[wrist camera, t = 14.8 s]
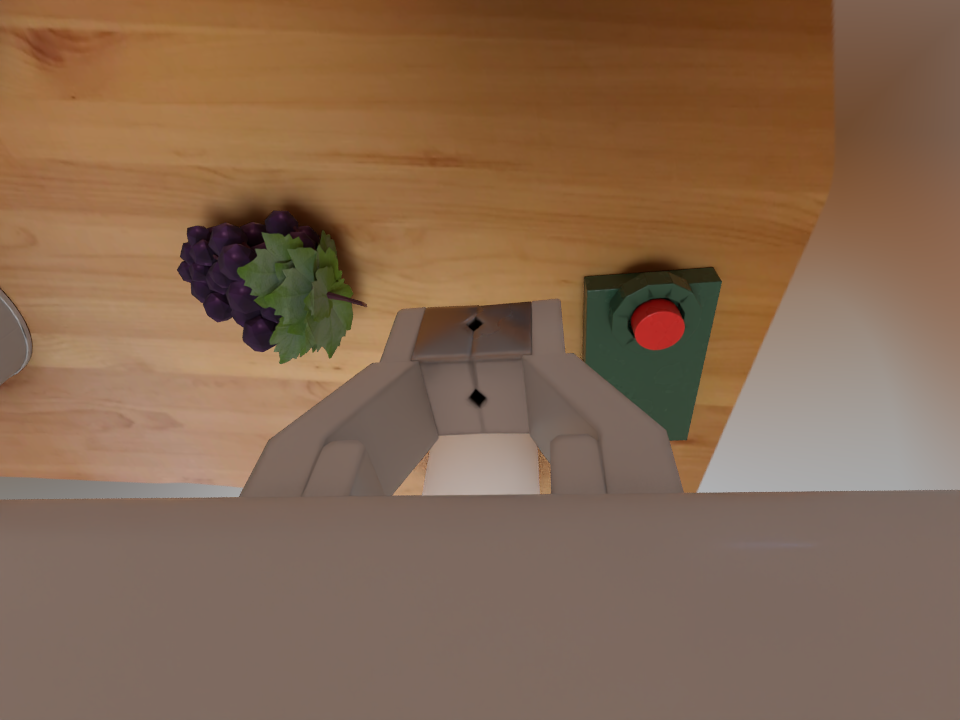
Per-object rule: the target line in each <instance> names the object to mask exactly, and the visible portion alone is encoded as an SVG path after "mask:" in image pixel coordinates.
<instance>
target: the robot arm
mask: <svg viewBox="0 0 960 720" xmlns="http://www.w3.org/2000/svg"><path fill="white" fill-rule="evenodd" d="M466 434H530V437H531V438H532V439H533V441H534V442H535V444H536V445H537V446H538V448H539V449H540V451H541V452H542V453H543V455H544V456H545V457H546V459H547V460H548V462H549V463H550V464H551V494H506V495H412V496H392V495H393V493H394V492H395V491H396V490H397V489H398V487H399V486H400V485H401V484H402V483H403V481H404V480H405V479H406V478H407V476H408V475H409V474H410V473H411V472H412V470H413V469H414V468H415V467H416V466H417V464H418V463H419V462H420V461H421V460H422V458H423V457H424V456H425V455H426V453H427V452H428V451H429V450H430V449H431V447H432V446H433V445H434V444H435V443H436V441H437V440H438V439H439V437H438V436H448V435H466ZM0 720H960V490H922V491H921V490H912V491H820V492H819V491H816V492H815V491H811V492H732V493H730V492H728V493H684V492H683V488H682V484H681V481H680V477H679V474H678V470H677V467H676V463H675V460H674V456H673V452H672V449H671V445H670V442H669V438H668V435H667V431H666V430H665V429H664V428H663V427H662V426H660V425H659V424H658V423H657V422H656V421H654V420H653V419H652V418H651V417H650V416H648V415H647V414H646V413H645V412H644V411H642V410H641V409H640V408H639V407H638V406H636V405H635V404H634V403H633V402H632V401H630V400H629V399H628V398H627V397H626V396H624V395H623V394H622V393H621V392H619V391H618V390H617V389H616V388H615V387H613V386H612V385H611V384H610V383H609V382H607V381H606V380H605V379H604V378H603V377H601V376H600V375H599V374H598V373H597V372H595V371H594V370H593V369H592V368H591V367H589V366H588V365H587V364H586V363H585V362H583V361H582V360H581V359H580V358H578V357H577V356H576V355H575V354H573V353H568V354H565V345H564V334H563V323H562V312H561V301H560V300H559V299H549V300H539V301H532V303H531V302H520V303H508V304H497V305H485V306H479V305H472V306H449V307H428V308H425V307H423V308H409V309H401V310H400V311H398V313H397V315H396V318H395V321H394V324H393V326H392V329H391V332H390V335H389V338H388V340H387V343H386V346H385V349H384V352H383V354H382V357H381V360H380V363H371V364H370V365H369V366H367V367H366V368H365V369H363V370H362V371H361V372H359V373H358V374H357V375H355V376H354V377H353V378H351V379H350V380H349V381H347V382H346V383H345V384H343V385H342V386H341V387H339V388H338V389H337V390H335V391H334V392H333V393H331V394H330V395H328V396H327V397H326V398H324V399H323V400H322V401H320V402H319V403H318V404H316V405H315V406H314V407H312V408H311V409H310V410H308V411H307V412H306V413H304V414H303V415H302V416H300V417H299V418H298V419H296V420H295V421H294V422H292V423H291V424H290V425H288V426H287V427H286V428H284V429H283V430H282V431H280V432H279V433H278V434H276V435H275V436H273V437H272V438H271V439H269V440H268V442H267V444H266V446H265V448H264V450H263V452H262V454H261V456H260V458H259V460H258V461H257V463H256V465H255V467H254V469H253V471H252V473H251V475H250V477H249V479H248V481H247V482H246V484H245V486H244V488H243V490H242V492H241V494H240V496H239V497H229V498H228V497H222V498H130V499H129V498H124V499H123V498H121V499H28V500H27V499H25V500H24V499H23V500H21V499H20V500H0Z"/></svg>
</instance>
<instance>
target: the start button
mask: <svg viewBox="0 0 960 720" xmlns="http://www.w3.org/2000/svg"><path fill="white" fill-rule="evenodd" d="M631 326H632V329H633V333H634V336H635V339H636V341H637V342H638V344H639V345H641V346H642V347H644V348H646V349H650V350H661V349H665V348H668V347H670V346H672V345H674V344H675V343H676V342H678V341H679V340H680V338H681V337H682V335H683V333H684V330H685V324H684V321H683V318H682V316H681V314H680V312H679V309H678V307H677V306H676V305H675V304H674V303H673V302H671V301H669V300H665V299H653V300H649V301H647V302H644V303H643V304H641V305H640V306H639V307H637V309H636V310H635V311H634V313H633V315H632V317H631Z"/></svg>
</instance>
